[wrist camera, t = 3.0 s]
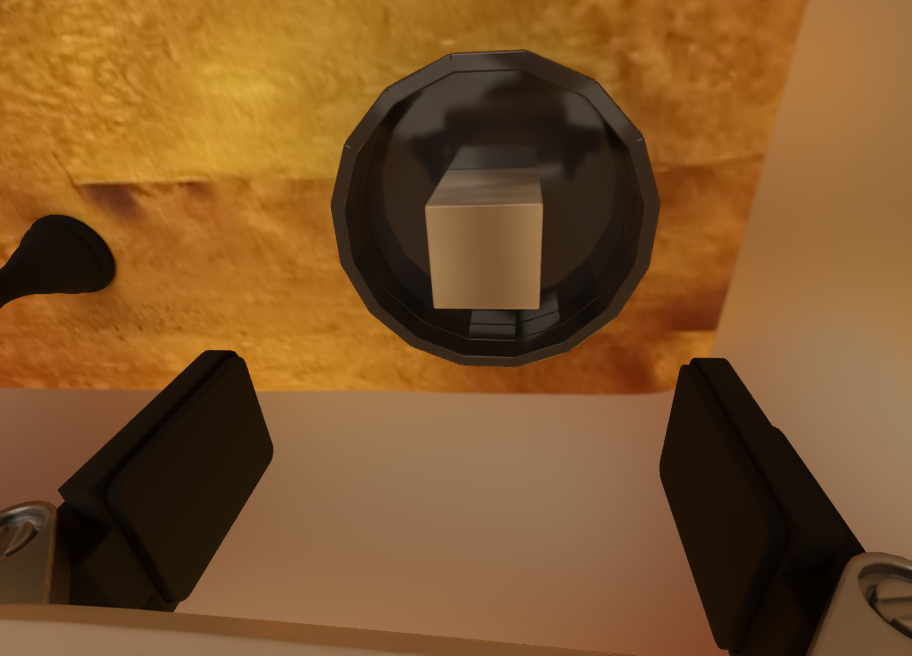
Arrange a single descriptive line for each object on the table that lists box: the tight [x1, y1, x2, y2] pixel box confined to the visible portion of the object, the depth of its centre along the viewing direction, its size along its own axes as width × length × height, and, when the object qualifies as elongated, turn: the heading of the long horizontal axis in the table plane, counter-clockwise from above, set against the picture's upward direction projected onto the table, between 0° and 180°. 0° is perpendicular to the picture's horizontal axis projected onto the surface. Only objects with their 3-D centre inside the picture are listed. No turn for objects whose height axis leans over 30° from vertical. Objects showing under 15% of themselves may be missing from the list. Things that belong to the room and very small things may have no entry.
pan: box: [331, 49, 660, 368], centre depth 21 cm, size 13×13×4 cm
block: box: [425, 167, 543, 309], centre depth 19 cm, size 4×4×6 cm
